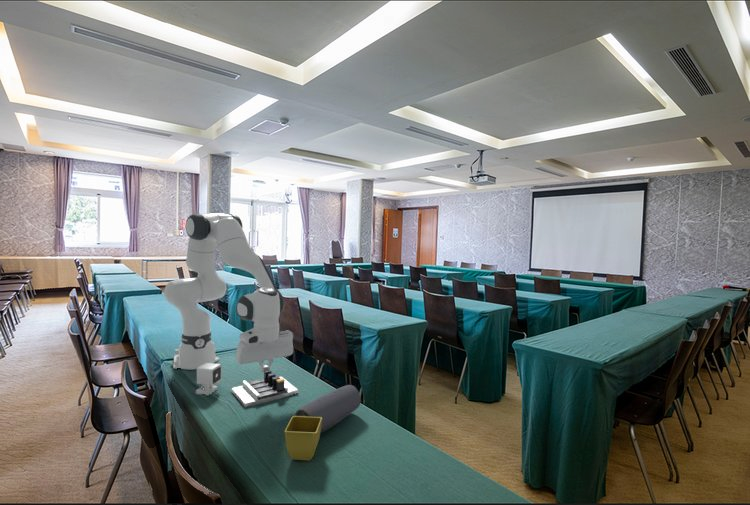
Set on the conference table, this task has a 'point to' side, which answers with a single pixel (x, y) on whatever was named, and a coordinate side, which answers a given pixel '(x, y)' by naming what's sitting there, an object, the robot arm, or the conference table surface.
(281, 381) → the handle
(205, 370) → the security camera
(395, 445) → the conference table surface
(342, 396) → the bluetooth speaker
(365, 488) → the conference table surface
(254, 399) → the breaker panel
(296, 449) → the flower pot
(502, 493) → the conference table surface
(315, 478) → the conference table surface
